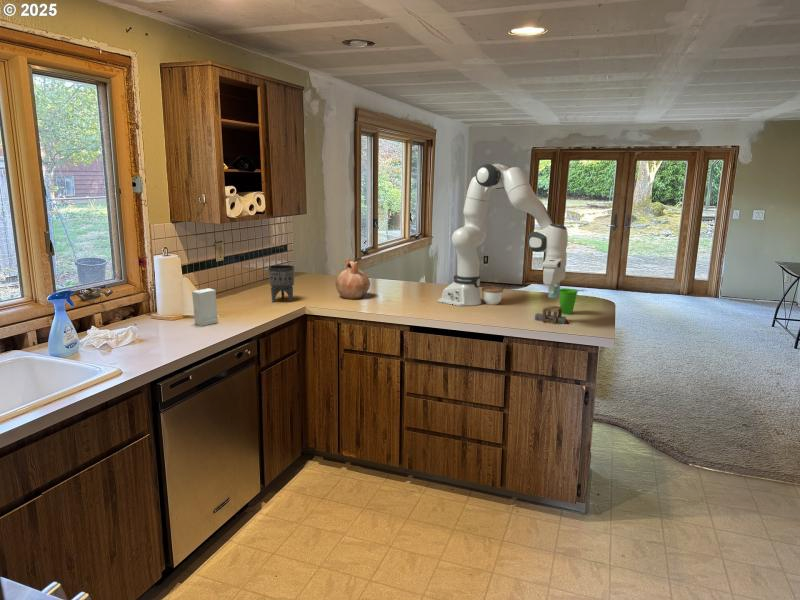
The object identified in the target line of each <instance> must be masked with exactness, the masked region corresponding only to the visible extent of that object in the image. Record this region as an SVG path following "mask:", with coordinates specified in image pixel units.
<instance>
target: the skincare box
mask: <svg viewBox="0 0 800 600" xmlns="http://www.w3.org/2000/svg"><path fill="white" fill-rule="evenodd" d="M191 293H192V294H191V295H192V304H193V305H192V306H193V307H192V308H193V317H194V324H196V325H197V326H199V327H204V326H208V325H209V326H210V325H213V324H216V323H219V320H218V305H217V294H216V293H217V292H216V289H213V288H210V287H209V288H208V287H207V288H203V289H197V290H191Z"/></svg>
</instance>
